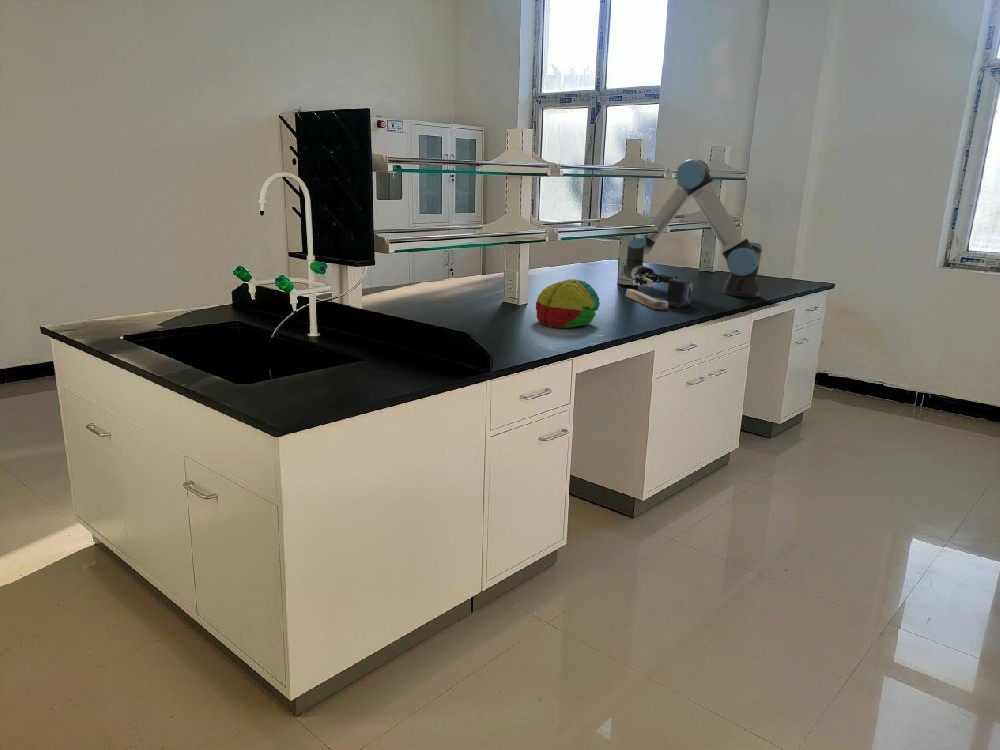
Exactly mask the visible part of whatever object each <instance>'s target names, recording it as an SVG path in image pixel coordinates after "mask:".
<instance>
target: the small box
mask: <svg viewBox="0 0 1000 750" xmlns="http://www.w3.org/2000/svg"><path fill="white" fill-rule="evenodd" d="M694 281H695V280H694V279H690V278H685V277H680V276H679V277H677V278H675V279H671V280H669V283H668V285H667V286H668V287H667V292H666V293H667V294H666V300H665V301H667V302H668V307H671V306H672V308H676V307H677V308H676V309H681V307H682V308H685V307H688V305H689V306H691V300H692V293H693V287H694ZM684 306H685V307H684Z"/></svg>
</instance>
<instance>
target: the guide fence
mask: <svg viewBox="0 0 1000 750" xmlns="http://www.w3.org/2000/svg"><path fill="white" fill-rule="evenodd" d="M625 297H626V298H629V299H631V300H633V301H634V302H637V303H640V304H642V305H643V304H644V306H645V305H646V307H647V306H648V307H647V308H649V309H652V310H654V309H660V310H659V311H662V310H661V309H663V310H664V309H665V310H664V311H667V310H668V308H669V306H668V302H667V301H666V300H659V299H656V298H654V297H651V296H650V295H648V294H645V293H643V292H641V291H639V290H636V289H633V288H626V292H625ZM666 309H667V310H666Z"/></svg>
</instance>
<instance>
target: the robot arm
mask: <svg viewBox="0 0 1000 750" xmlns="http://www.w3.org/2000/svg"><path fill="white" fill-rule="evenodd" d="M675 174H676V177H675V178H676V181H677V182H676V187H675V189H674V190H673V191H672V193H671V194H670V195H669V196H668V197H667V199H666V201H665V202H664V203H663V204H662V206H661V207H660V209H659V210H658V211H657V213H656V214H655V215H654V217H653V218H652V219H651V221H650V222H649V224H653V225H655V226H657V228H658V229H657V230H659V231H657V232H658V233H653V234H649V235H648V236H642V237H639V238H636V239H635V240H632V241H630V242H629V241H628V242H629V244H628V243H627V250H626V259H625V260H626V261H625V263H626V265H624V264H623V265H624V267H623V268H622V267H621V273H622V272H623V273H622V275H623V274H624V275H625V276H626V277H625V276H624V275H623V276H624V277H625V278H626V279H629V280H632V281H634V282H635V284H639V286H646V287H650V288H652V287H653V284H654V283H657V284H660V283H664V284H665V283H666V284H669V280H671V279H675V278H678V276H671V275H666V274H662V273H661V274H659V273H655V271H654V270H653V268H651V267H648V266H646V265H644V257H645V255H648V254H649V253H650V252H651V251H652V250H653V248H654V246H655V244H656V243H657V241H658V240H659V239H660V237H661V236H662V234H664V232H665V231H666V230H667V228H668V227H669V226H670V225H671V223H672V221H674V219H675V218H676V217H677V215H678V214H679V212H680V211H681V210H682V209H683V207H684V206H685V205H686V204H687V202H688V201H689V199H694V201H695V203H696V204H697V206H698V208H699V209H700V211H701V212H702V214H703V216H704V218H705V219H706V222H707V223H708V226H710V229H711V230H712V231H713V234H714V235H715V237H716V238H717V240H718V241H719V244H720V245H721V246H722V249H721V254H722V256H723V258H724V260H725V262H726V265H727V268H728V270H729V276H728V278H727V279H726V282H725V284H724V286H723V289H722V293H723V294H725V295H728V296H733V297H738V296H739V297H738V298H757V297H759V293H760V290H759V284H758V275H759V269H760V262H761V256H762V252H763V246H762V244H761V243H759V242H751V241H749V239H748V238H747V237H745V236H742V235H741V233H740V231H739V230H738V228H737V227H736V225H735V223H734V221H733V219H732V218H731V216H730V215H729V213H728V211H727V209H726V208H725V206H724V204H723V203H722V200H721V199H720V197H719V196H718V194H717V192H716V191H715V188H714V183H715V181H714V180H713V179H714V178H712V176H711V175H710V168H709V166H708V164H707V163H706V162H705V161H703V160H701V159H697V158H689V159H686V160H684V161H683V162H682V163H680V164H679V166H678V168H677V170H676V173H675Z"/></svg>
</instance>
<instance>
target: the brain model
mask: <svg viewBox="0 0 1000 750" xmlns="http://www.w3.org/2000/svg"><path fill="white" fill-rule="evenodd" d="M600 304H601V303H600V297H599V295H598V293H597V291H596V290H595V289H594V288H593V286H592V285H590V284H589V283H588V282H586V281H585V280H579V279H574V278H573V279H572V278H571V279H570V278H569V279H568V278H567V279H566V280H560V281H558V282H555V283H552V284H550V285H548V286H546V287H545V288H543V289H542V291H541V292H540V293H539V295H538V297H537V299H536V302H535V311H536V318H537V321H538V322H539V323H540V324H541V325H542V326H544V327H549V328H552V327H553V328H554V329H568V328H569V329H570V328H576V327H579V326H580V327H581V326H583V327H584V326H586V325H588V324H590V323H592V321H593V320H594V318H595V316H596V312H597V311H598V310H599V307H600Z"/></svg>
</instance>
